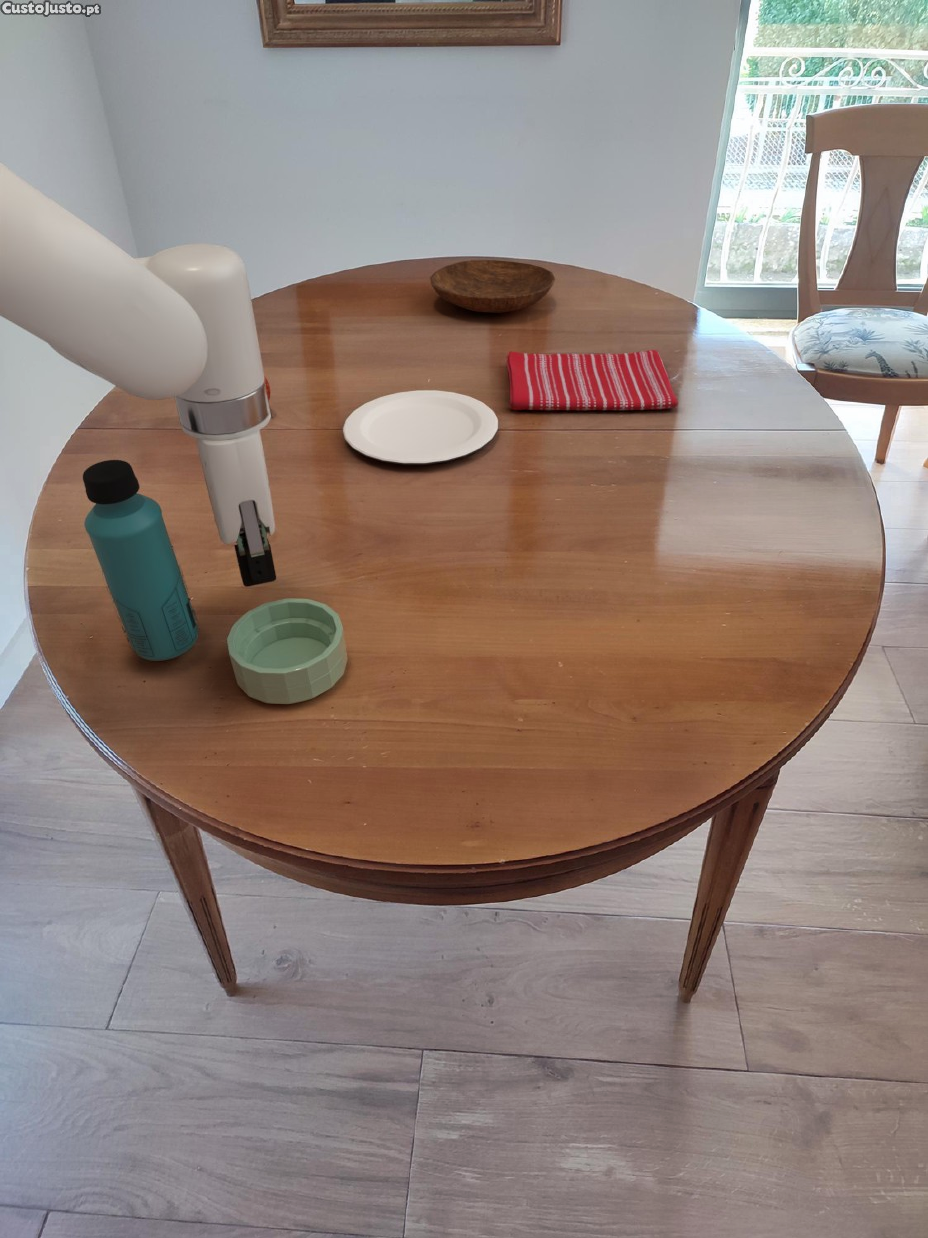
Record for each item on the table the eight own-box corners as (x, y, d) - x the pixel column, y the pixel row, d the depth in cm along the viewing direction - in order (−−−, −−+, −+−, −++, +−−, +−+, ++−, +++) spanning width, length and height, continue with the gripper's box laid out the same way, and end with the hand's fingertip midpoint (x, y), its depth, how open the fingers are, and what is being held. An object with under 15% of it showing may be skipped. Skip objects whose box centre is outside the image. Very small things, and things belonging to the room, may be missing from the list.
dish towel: (506, 364, 130) (506, 347, 128) (660, 363, 129) (662, 346, 127) (506, 414, 117) (506, 397, 115) (677, 413, 116) (680, 395, 114)
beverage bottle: (214, 656, 80) (160, 472, 67) (146, 684, 77) (76, 498, 64) (190, 620, 84) (135, 440, 71) (124, 646, 81) (55, 464, 69)
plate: (415, 387, 125) (415, 376, 123) (529, 426, 114) (529, 415, 113) (311, 441, 112) (309, 429, 111) (427, 490, 102) (427, 478, 101)
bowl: (457, 281, 160) (457, 254, 157) (568, 294, 153) (569, 266, 150) (412, 317, 146) (410, 288, 143) (531, 333, 139) (532, 303, 136)
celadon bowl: (244, 721, 73) (234, 684, 70) (231, 648, 81) (221, 612, 78) (358, 693, 76) (352, 656, 73) (335, 624, 83) (329, 588, 80)
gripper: (169, 378, 75) (210, 547, 87) (187, 451, 64) (232, 634, 76) (252, 365, 77) (282, 532, 89) (284, 434, 66) (313, 615, 78)
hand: (259, 579), depth 82 cm, fingers closed
